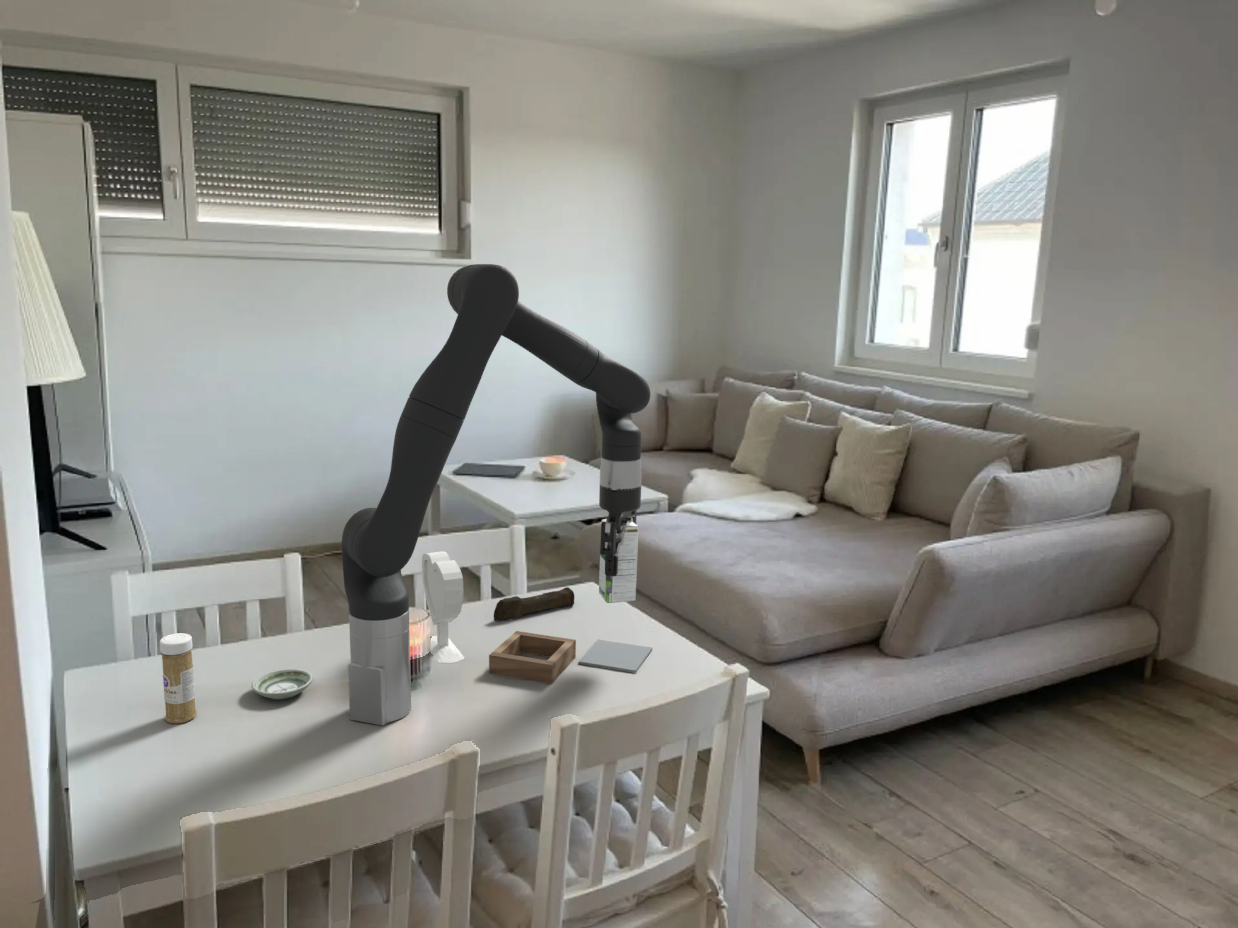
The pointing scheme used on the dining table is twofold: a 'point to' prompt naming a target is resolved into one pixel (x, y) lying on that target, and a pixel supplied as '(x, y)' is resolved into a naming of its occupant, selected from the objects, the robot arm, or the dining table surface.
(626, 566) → the white drink carton
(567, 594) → the hand tool
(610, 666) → the mat
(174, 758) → the dining table surface
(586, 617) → the dining table surface
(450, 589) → the heart sculpture
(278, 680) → the saucer
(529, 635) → the collar
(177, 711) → the sprinkles bottle
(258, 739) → the dining table surface
